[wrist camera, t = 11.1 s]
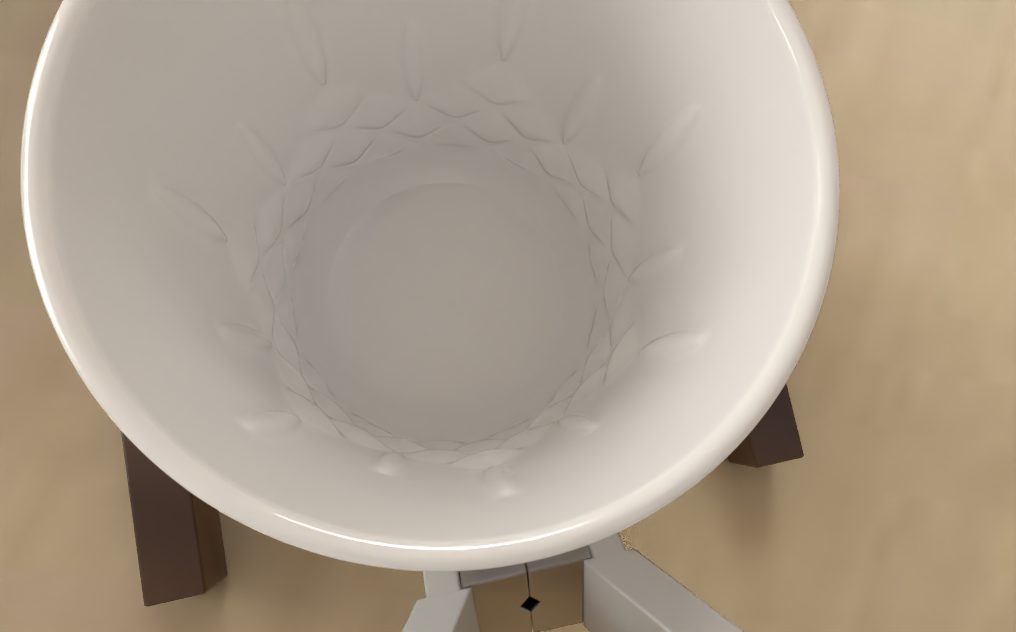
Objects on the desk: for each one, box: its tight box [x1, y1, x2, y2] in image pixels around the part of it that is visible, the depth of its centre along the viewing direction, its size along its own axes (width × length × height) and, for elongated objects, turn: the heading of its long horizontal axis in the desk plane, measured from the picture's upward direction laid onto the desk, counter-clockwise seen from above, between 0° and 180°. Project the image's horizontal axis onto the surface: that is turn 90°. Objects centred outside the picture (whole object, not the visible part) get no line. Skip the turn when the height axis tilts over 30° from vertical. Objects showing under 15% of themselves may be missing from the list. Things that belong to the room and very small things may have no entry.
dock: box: [121, 384, 804, 606], centre depth 16 cm, size 13×14×2 cm
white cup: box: [20, 0, 840, 572], centre depth 11 cm, size 8×8×10 cm
